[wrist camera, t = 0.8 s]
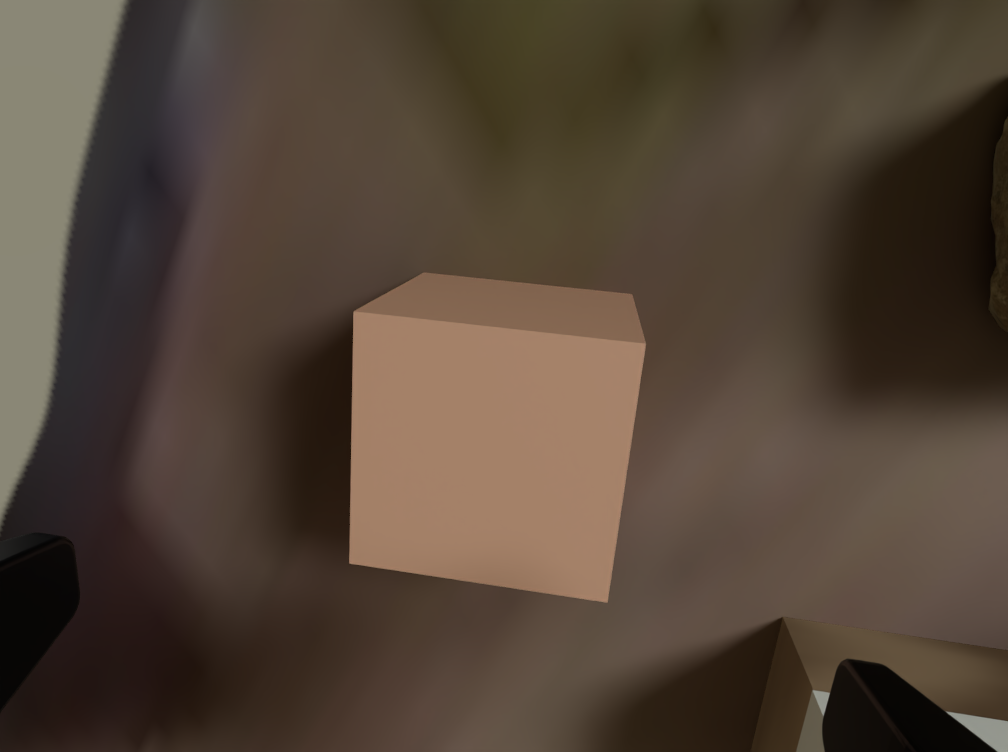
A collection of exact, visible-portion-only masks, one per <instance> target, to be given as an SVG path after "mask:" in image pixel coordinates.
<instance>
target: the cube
mask: <svg viewBox="0 0 1008 752" xmlns="http://www.w3.org/2000/svg"><path fill="white" fill-rule="evenodd" d="M645 347H646V342H645V339H644V335H643V332H642V328H641V324H640V321H639V317H638V314H637V310H636V306H635V303H634V299H633V296H632V294H625V293H616V292H606V291H597V290H587V289H577V288H568V287H558V286H548V285H539V284H529V283H519V282H510V281H500V280H490V279H481V278H471V277H461V276H452V275H442V274H433V273H422V274H420V275H419V276H417V277H415V278H413V279H411V280H409V281H408V282H406V283H404V284H402V285H400V286H399V287H397V288H395V289H393V290H391V291H389V292H388V293H386V294H384V295H382V296H380V297H379V298H377V299H375V300H373V301H371V302H370V303H368V304H366V305H364V306H362V307H360V308H359V309H357V310H355V311H354V314H353V374H352V433H351V493H350V553H349V563H350V564H356V565H363V566H369V567H376V568H383V569H389V570H396V571H402V572H409V573H415V574H422V575H429V576H435V577H442V578H448V579H455V580H462V581H468V582H475V583H481V584H488V585H495V586H501V587H508V588H514V589H521V590H527V591H534V592H541V593H547V594H554V595H560V596H567V597H574V598H580V599H587V600H593V601H600V602H608V595H609V589H610V582H611V575H612V568H613V562H614V555H615V548H616V542H617V535H618V528H619V521H620V515H621V508H622V501H623V494H624V488H625V481H626V474H627V468H628V461H629V454H630V447H631V441H632V434H633V427H634V421H635V414H636V407H637V400H638V394H639V387H640V380H641V373H642V367H643V360H644V353H645Z"/></svg>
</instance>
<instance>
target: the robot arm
mask: <svg viewBox="0 0 1008 752" xmlns="http://www.w3.org/2000/svg"><path fill="white" fill-rule="evenodd" d="M79 600H80V589H79V580H78V572H77V564H76V556H75V549H74V545H73V544H72V542H71V541H70V540H69V539H68V538H66V537H63V536H57V535H51V534H44V533H30V534H26V535H23V536H19V537H15V538H11V539H8V540H4V541H0V712H1V711H2V710H3V708H4V707H5V706H6V704H7V703H8V702H9V701H10V699H11V698H12V697H13V695H14V694H15V693H16V691H17V690H18V689H19V687H20V686H21V685H22V683H23V682H24V681H25V679H26V678H27V677H28V676H29V674H30V673H31V672H32V670H33V669H34V668H35V666H36V665H37V664H38V662H39V661H40V660H41V658H42V657H43V656H44V654H45V653H46V652H47V650H48V649H49V648H50V647H51V645H52V644H53V643H54V641H55V640H56V639H57V637H58V636H59V635H60V633H61V632H62V631H63V629H64V628H65V627H66V625H67V624H68V623H69V622H70V620H71V619H72V617H73V616H74V614H75V612H76V610H77V608H78V605H79ZM822 739H823V745H824V750H825V752H997V751H996V750H995V749H994V748H992V747H991V746H990V745H988V744H987V743H986V742H984V741H983V740H982V739H981V738H979V737H978V736H977V735H975V734H974V733H973V732H971V731H970V730H969V729H968V728H966V727H965V726H964V725H962V724H961V723H960V722H959V721H957V720H956V719H955V718H953V717H952V716H951V715H949V714H948V713H947V712H946V711H944V710H943V709H942V708H940V707H939V706H938V705H936V704H935V703H934V702H933V701H931V700H930V699H929V698H927V697H926V696H925V695H923V694H922V693H921V692H920V691H918V690H917V689H916V688H914V687H913V686H912V685H911V684H909V683H908V682H907V681H905V680H904V679H903V678H901V677H900V676H899V675H898V674H896V673H895V672H894V671H892V670H891V669H890V668H888V667H887V666H885V665H883V664H881V663H876V662H869V661H863V660H856V659H849V658H848V659H845V660H843V661H841V662H840V664H839V665H838V667H837V669H836V672H835V676H834V680H833V683H832V687H831V691H830V694H829V698H828V702H827V705H826V709H825V713H824V716H823V722H822Z"/></svg>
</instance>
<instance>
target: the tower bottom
mask: <svg viewBox="0 0 1008 752" xmlns="http://www.w3.org/2000/svg"><path fill="white" fill-rule="evenodd" d="M848 658H849V659H856V660H863V661H869V662H876V663H881V664H883V665H885V666H887V667H888V668H890V669H891V670H892V671H894V672H895V673H896V674H898V675H899V676H900V677H901V678H903V679H904V680H905V681H907V682H908V683H909V684H911V685H912V686H913V687H914V688H916V689H917V690H918V691H920V692H921V693H922V694H923V695H925V696H926V697H927V698H929V699H930V700H931V701H933V702H934V703H935V704H936V705H938V706H939V707H940V708H942V709H943V710H944V711H946V712H953V713H959V714H965V715H971V716H977V717H984V718H990V719H996V720H1002V721H1008V650H1001V649H995V648H988V647H981V646H975V645H968V644H961V643H955V642H948V641H941V640H935V639H928V638H921V637H915V636H908V635H901V634H895V633H888V632H881V631H874V630H868V629H861V628H854V627H848V626H841V625H834V624H828V623H821V622H814V621H808V620H801V619H794V618H788V617H783V618H782V622H781V627H780V631H779V635H778V639H777V643H776V647H775V652H774V656H773V660H772V664H771V668H770V672H769V677H768V681H767V685H766V689H765V693H764V697H763V702H762V706H761V710H760V714H759V718H758V722H757V726H756V731H755V735H754V739H753V743H752V747H751V751H750V752H796V750H797V746H798V743H799V739H800V735H801V731H802V727H803V724H804V720H805V716H806V712H807V709H808V705H809V701H810V697H811V693H812V690H815V691H822V692H828V693H830V691H831V687H832V683H833V680H834V676H835V672H836V669H837V667H838V665H839V664H840V662H841V661H843V660H845V659H848Z"/></svg>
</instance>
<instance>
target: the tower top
mask: <svg viewBox="0 0 1008 752" xmlns="http://www.w3.org/2000/svg"><path fill="white" fill-rule="evenodd" d="M829 694H830V693H828V692H822V691H815V690H812V693H811V697H810V701H809V705H808V709H807V712H806V716H805V720H804V724H803V727H802V731H801V735H800V739H799V743H798V746H797V750H796V752H825V750H824V745H823V739H822V722H823V716H824V713H825V709H826V705H827V702H828V698H829ZM947 713H948V714H949V715H951V716H952V717H953V718H955V719H956V720H957V721H959V722H960V723H961V724H962V725H964V726H965V727H966V728H968V729H969V730H970V731H971V732H973V733H974V734H975V735H977V736H978V737H979V738H981V739H982V740H983V741H984V742H986V743H987V744H988V745H990V746H991V747H992V748H994V749H995V750H996V751H997V752H1008V721H1002V720H996V719H990V718H984V717H977V716H971V715H965V714H959V713H953V712H947Z"/></svg>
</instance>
